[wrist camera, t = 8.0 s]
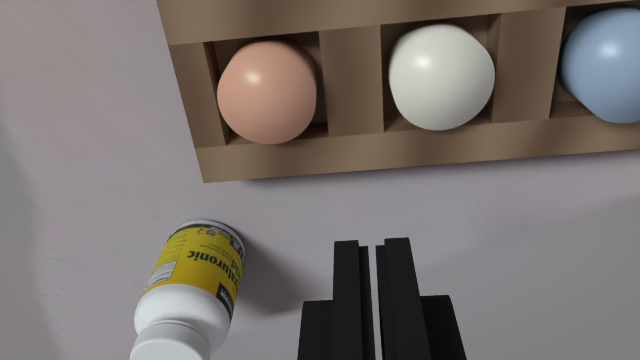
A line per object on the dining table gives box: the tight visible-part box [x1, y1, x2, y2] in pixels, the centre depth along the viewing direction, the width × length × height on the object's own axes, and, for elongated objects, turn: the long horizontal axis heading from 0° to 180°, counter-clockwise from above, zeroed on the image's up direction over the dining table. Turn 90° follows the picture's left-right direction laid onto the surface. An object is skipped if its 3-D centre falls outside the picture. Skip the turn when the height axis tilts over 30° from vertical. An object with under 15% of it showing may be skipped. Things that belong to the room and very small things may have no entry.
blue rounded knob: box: [557, 5, 640, 123], centre depth 23 cm, size 5×5×3 cm
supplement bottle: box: [130, 220, 245, 360], centre depth 29 cm, size 5×5×10 cm
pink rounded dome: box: [217, 35, 317, 144], centre depth 25 cm, size 5×5×3 cm
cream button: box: [386, 19, 495, 130], centre depth 24 cm, size 5×5×3 cm
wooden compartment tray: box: [156, 0, 640, 183], centre depth 25 cm, size 26×10×3 cm, turn 96°
